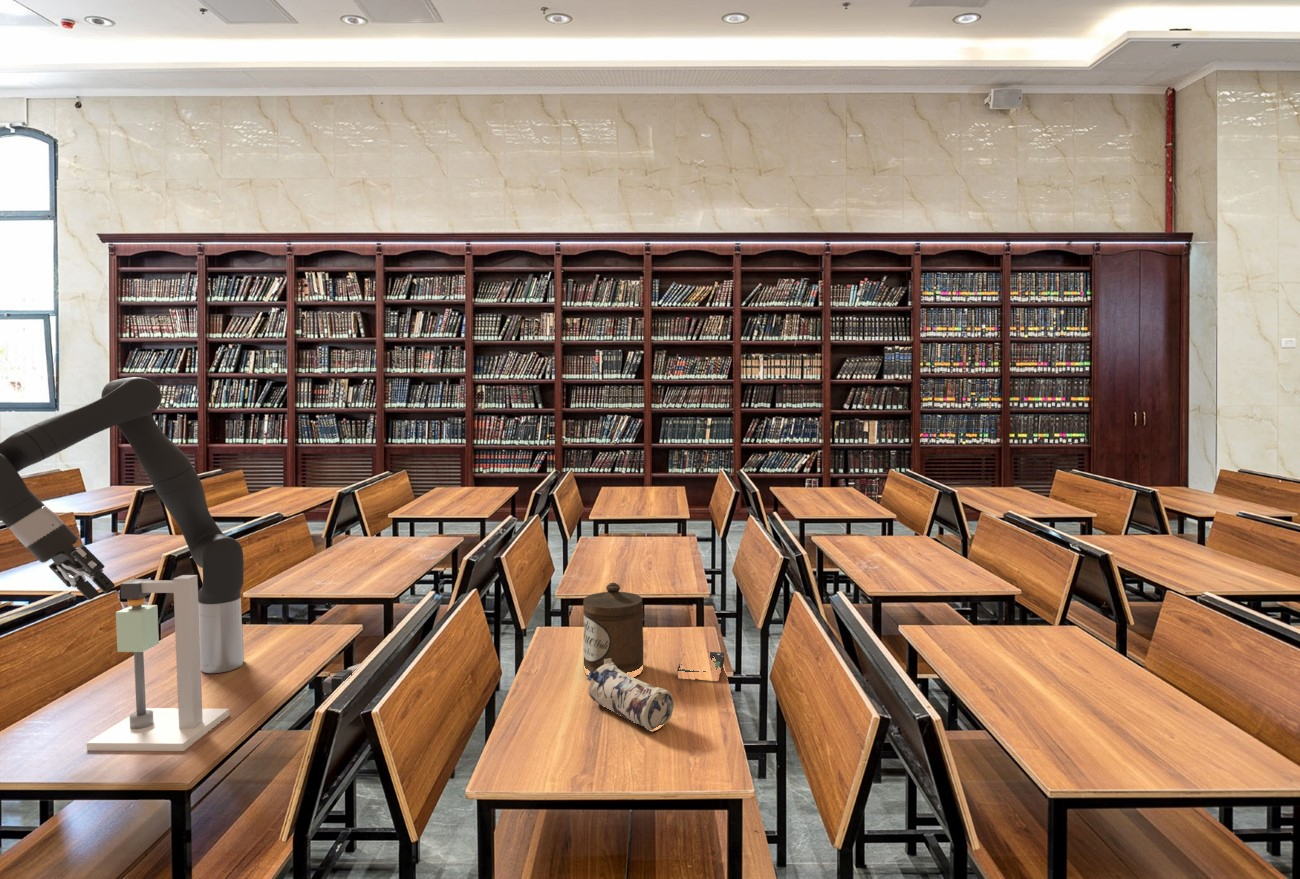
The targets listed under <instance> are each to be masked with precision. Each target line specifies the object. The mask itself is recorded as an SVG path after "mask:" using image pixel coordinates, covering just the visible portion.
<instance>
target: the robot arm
mask: <svg viewBox="0 0 1300 879" xmlns="http://www.w3.org/2000/svg"><path fill="white" fill-rule="evenodd" d="M161 402H162V391H161V389H160V387H159V386H158V385H157V384H156V383H155V382H154V381H152V380H150V379H148V378H145V377H139V376H138V377H137V376H133V377H125V378H119V379H114V380H112V381H109V382H107V384H105V385H104V387H103V389H102V391H101V397H100V398H98V399H97V400H95V401H92V402H90V403H88V404H86V405H84V406H81V407H79V408H75V409H73V410H70V411H66V412H64V413H62V414H58V415H55V416H52V417H50V418H47V419H44V420H42V421H39V422H38V423H35V424H33V425H30V426H28V427H26V428H23V429H22V430H19V431H17V432H14V433H13V434H12V435H10V436H8V437H7V438H6V439H5V440H3V441H1V442H0V520H1V521H2V523H3V524H4V525H5V526H6V527H7V528H8V529H9V530H10V531H11V533H12V534H13V535H14V536H15V538H16V539H17V540H18V541H19V542H20V543H21V544H22V545H23V546H24V547H25V548H26V549H27V551H29V552H30V553H31V555H33V556H34V557H35V558H36V559H37V560H38V561H39V563H41V564H43V563H47V562H49V561H50V560H52V561H53V562H52V563H50V564H49V565H48V567H49V569H50V570H51V571H52V572H53V573H54V574H55V575H56V576H57V577H58V578H59V579H60V580H61V581H62V582H63V583H64V585H66V587H67V588H71V587H72V588H74V589H75V588H76V590H78V591H79V592H80V593H81V594H82V596H84V598H86V599H87V600H89V601H91V600H93V599H94V598H96V597H97V596H98V595H99V594H100V591H99V590H98V589H96V588H95V586H93V585H92V584H91V582H89V580H87V579H86V577H87V578H88V579H90V580H91V581H92V582H93V583H94V584H95V585H96V586H97V588H99V589H100V590H101V591H102V592H103V593H107V592H110V591H111V590H112V589H114V588H115V586H116V585H115V583H114V582H113V581H112V580H111V579H110V578H109V577H108V575H106V574H105V573H104V568H105V565H104V563H102V561H100V559H98V557H96V556H95V555H94V554H93V553H92V552H91V551H90V550H89V549H88V548H87V546H85V545H80V546H79V547H77V548H76V547H75V546H74V544H75V543H77V542H78V541H79V537H78V536H77V535H76V534H75V533H74V532H73V530H72V529H71V528H70V527H69V526H67V524H66V523H65V522H64V521H63V520H62V519H61V518H60V517H59V515H57V514H56V513H55V512H53V511H52V510H51V509H50V508H48V507H47V506H46V504H44V502H42V501H41V500H40V499H39V497H38V496H37V495H36V494H35V493H33V491H31V490H30V489H29V487H28V486H27V485H26V483H25V481H24V480H23V478H22V476H21V475H20V474H19V472H21V471H22V470H24V469H25V468H26V469H27V467H30V466H32V465H35V464H37V463H39V462H42V461H44V460H46V459H48V458H50V457H52V456H54V455H56V454H59V453H60V452H62V451H65V450H66V449H68V448H70V447H72V446H74V445H77V444H78V443H79V442H82V441H84V440H86V439H88V438H90V437H92V436H93V435H95V434H99V433H100V432H103V431H105V430H107V429H109V428H112V427H114V426H117V427H118V430H119V431H120V432H121V433H122V435H123V436H124V437H125V439H126V440H127V442H128V443H129V445H130V448H132V451H133V452H134V454H135V456H136V458H137V460H138V461H139V463H140V465H141V467H142V469H143V470H144V472H145V474H146V476H147V478H148V480H149V482H150V483H151V485H152V486H153V489H154V490H155V492H156V493H157V496H158V497H159V499H160V500H161V502H162V503H163V506H164V507H165V508H166V510H167V511H168V512H169V515H171V517H172V518H173V520H174V521H175V523H176V524H177V526H178V527H179V529H180V530H181V534H182V536H183V538H184V540H185V543H186V545H187V547H188V550H189V552H190V555H191V557H192V559H193V562H195V564H196V565H197V566H198V567H199V568H201V570H202V586H201V588H200V589H198V609H199V635H200V662H201V672H203V673H207V674H218V673H226V672H230V671H233V670H237V669H238V668H240V667H242V666H243V664H244V660H245V652H244V650H245V648H244V625H243V623H242V622H243V621H242V598H241V597H242V594H241V593H242V588H243V585H244V573H245V571H244V570H245V569H244V568H245V566H244V562H245V561H244V550H243V547H242V545H241V543H240V542H239V541H238V540H237V539H235V538H233V537H230V536H228V535H225V534H224V533H223V531H221V529H220V528H219V525H217V523H216V521H215V520H214V518H213V516H212V515H211V513H210V511H209V508H208V505H207V499H206V494H205V488H204V487H203V483H202V481H201V478H200V477H199V475H198V473H197V472H196V471H197V470H195V468H194V466H193V464H192V461H190V459H189V458H188V456H187V455H186V454H185V453H184V452H183V451H182V450H181V449H180V448H179V447H178V446H177V445H176V444H175V443H174V442H173V441H172V440H171V439H169V437H168V436H167V435H166V434H165V433H164V432H163V431H162V430H161V429H160V427H159V425H158V424H157V423H156V420H155V419H154V416H153V413H154V412H156V411H157V409H158V408H159V407H160V405H161Z"/></svg>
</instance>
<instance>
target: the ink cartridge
mask: <svg viewBox="0 0 1300 879" xmlns="http://www.w3.org/2000/svg"><path fill="white" fill-rule="evenodd" d="M350 675H352V670H347V669H341V670H339V671H338V672H336V673H335V674H334V675H333V676H332V677H330V678H331V679H332V680H331V686H332V691H333V690H334V689H335V688H336V687H337V686H338V685H339V684H341V683H342V682H343V681H345V680H346V679H347V678H348V677H349V676H350Z"/></svg>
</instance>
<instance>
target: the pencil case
mask: <svg viewBox="0 0 1300 879" xmlns="http://www.w3.org/2000/svg"><path fill="white" fill-rule="evenodd" d="M586 680H587V681H589V685H588V695H589V697H590V698H591V700H592V701H594V702H595V701H596V702H595V703H597V702H598V703H599V704H598V703H597V704H598V705H600V706H601V705H603V706H605V707H606V708H607V709H609V710H611V711H610V712H612V711H613V712H615V713H618V714H619V715H621V716H623V717H625V718H627V719H629V720H631V721H630V722H632V721H633V722H632V723H634V724H635V723H636V724H635V725H637V724H639V725H638V726H640V725H641V727H643V726H644V727H643V728H645V729H646V730H647V731H648V730H649V731H648V732H650V730H653V729H654V728H656V727H658V726H659V725H663V724H665V725H666V724H668V722H669V721H670V719H671V718H672V715H673V712H674V707H675V699H674V696H673V695H672V692H670V691H669V690H667V689H665V688H662V687H656V686H653V685H652V684H649V683H647V682H644V681H643V680H640V679H638V678H637V677H635V678H633V677H631V676H629V675H627V674H626V673H624V672H622V671H621V670H619V669H618V667H617V666H616V665H614V663H613V662H612V661H611V658H609V659H604V665H602V666H601V667H599V668H598V669H597V670H596V671H595V673H594V672H593V671H590V673H589V675H588V676H587V677H586ZM607 709H606V710H607ZM609 710H608V711H609ZM613 712H612V713H613ZM615 713H614V714H615ZM619 715H618V716H619ZM623 717H622V718H623ZM625 718H624V719H625ZM627 719H626V720H627ZM629 720H628V721H629Z"/></svg>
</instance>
